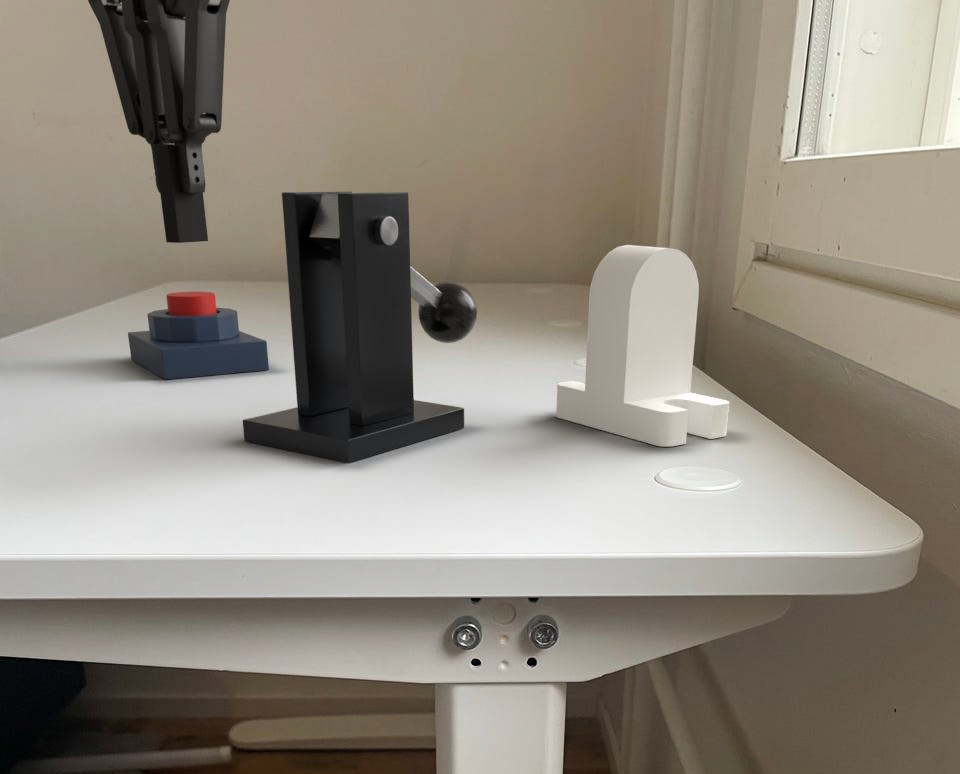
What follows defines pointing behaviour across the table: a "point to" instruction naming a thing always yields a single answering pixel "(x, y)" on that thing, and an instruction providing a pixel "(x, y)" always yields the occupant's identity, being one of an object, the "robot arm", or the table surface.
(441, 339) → the lever
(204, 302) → the stop button
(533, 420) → the table surface
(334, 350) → the bracket
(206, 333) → the switch box
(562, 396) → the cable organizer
